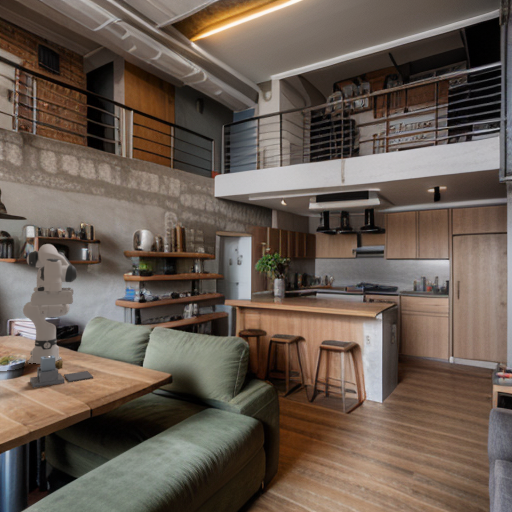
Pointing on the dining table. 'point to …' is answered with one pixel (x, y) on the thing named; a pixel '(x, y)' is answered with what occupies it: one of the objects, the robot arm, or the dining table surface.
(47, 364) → the blue-grey cube
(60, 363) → the gavel
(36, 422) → the dining table surface
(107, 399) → the dining table surface
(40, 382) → the vise
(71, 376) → the mat
